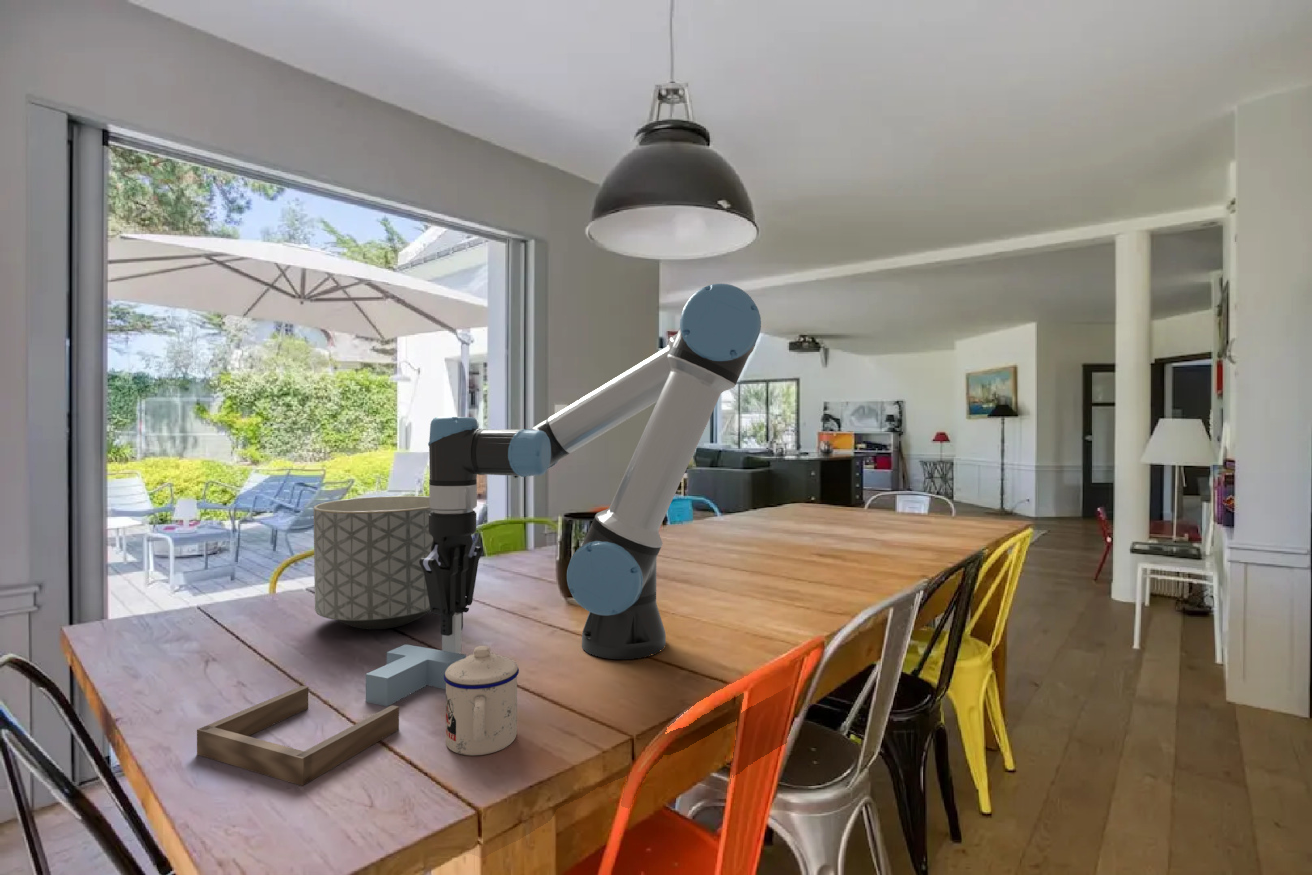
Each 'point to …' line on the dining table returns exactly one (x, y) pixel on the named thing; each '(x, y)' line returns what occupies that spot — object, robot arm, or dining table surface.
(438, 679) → the t block
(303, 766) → the frame
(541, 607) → the dining table surface
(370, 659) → the dining table surface
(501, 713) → the teacup with lid
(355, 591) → the planter
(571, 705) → the dining table surface
